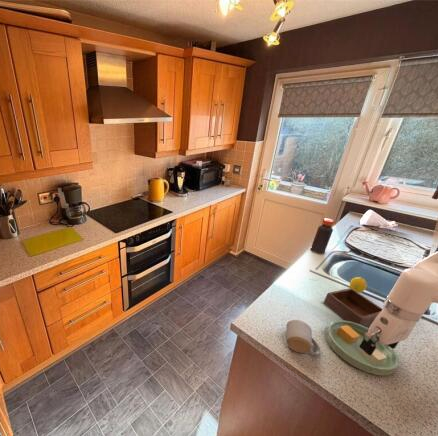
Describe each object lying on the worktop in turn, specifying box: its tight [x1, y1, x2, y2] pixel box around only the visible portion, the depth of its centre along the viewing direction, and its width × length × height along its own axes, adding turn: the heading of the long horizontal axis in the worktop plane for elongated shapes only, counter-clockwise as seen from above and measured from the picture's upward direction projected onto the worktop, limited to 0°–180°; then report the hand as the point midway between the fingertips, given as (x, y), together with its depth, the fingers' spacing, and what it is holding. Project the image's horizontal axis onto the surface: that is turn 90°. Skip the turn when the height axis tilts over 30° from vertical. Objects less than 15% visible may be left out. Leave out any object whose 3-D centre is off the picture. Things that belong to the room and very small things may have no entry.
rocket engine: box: [359, 209, 399, 232], centre depth 163 cm, size 12×12×18 cm
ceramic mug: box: [285, 319, 321, 356], centre depth 79 cm, size 11×8×8 cm
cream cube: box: [359, 349, 387, 366], centre depth 75 cm, size 4×5×4 cm
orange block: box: [337, 325, 360, 344], centre depth 82 cm, size 4×5×4 cm
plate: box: [325, 319, 400, 376], centre depth 79 cm, size 18×18×4 cm
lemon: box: [349, 276, 368, 293], centre depth 103 cm, size 6×6×8 cm
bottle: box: [310, 218, 335, 255], centre depth 132 cm, size 7×7×20 cm
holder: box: [323, 287, 384, 328], centre depth 93 cm, size 13×14×6 cm
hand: (376, 347), depth 74 cm, fingers open, 9 cm apart
